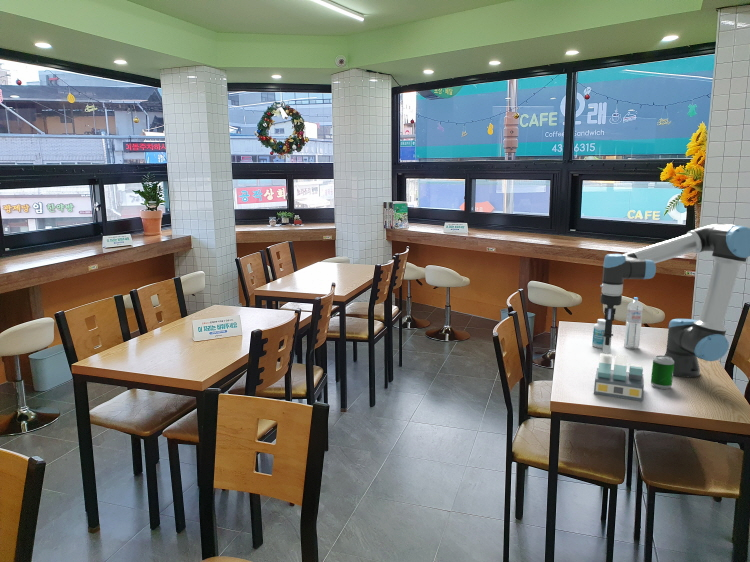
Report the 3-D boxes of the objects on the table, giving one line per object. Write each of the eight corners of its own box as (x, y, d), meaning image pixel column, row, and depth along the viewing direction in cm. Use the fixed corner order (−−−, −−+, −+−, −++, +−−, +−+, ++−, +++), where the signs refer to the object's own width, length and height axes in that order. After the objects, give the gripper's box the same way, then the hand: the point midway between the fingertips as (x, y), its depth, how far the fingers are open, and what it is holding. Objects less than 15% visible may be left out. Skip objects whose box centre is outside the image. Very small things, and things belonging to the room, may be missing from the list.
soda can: (670, 391, 223) (673, 361, 221) (649, 387, 227) (652, 358, 224) (672, 385, 229) (675, 356, 227) (651, 381, 233) (654, 353, 231)
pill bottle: (591, 347, 278) (593, 320, 276) (592, 343, 285) (594, 317, 282) (608, 349, 275) (610, 322, 273) (608, 345, 282) (610, 319, 280)
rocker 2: (626, 361, 225) (627, 356, 224) (625, 380, 216) (626, 376, 214) (614, 359, 227) (615, 355, 226) (613, 379, 217) (613, 374, 216)
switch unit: (641, 388, 225) (643, 369, 224) (642, 401, 212) (644, 381, 211) (595, 382, 232) (597, 363, 231) (593, 394, 219) (595, 374, 218)
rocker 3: (641, 371, 223) (642, 365, 223) (642, 375, 212) (642, 369, 212) (629, 370, 225) (629, 364, 225) (629, 374, 214) (630, 367, 214)
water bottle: (640, 346, 280) (644, 297, 275) (637, 350, 274) (642, 299, 270) (625, 344, 284) (629, 295, 279) (622, 348, 278) (627, 298, 273)
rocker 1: (611, 359, 227) (612, 354, 226) (609, 378, 218) (610, 373, 217) (600, 357, 229) (600, 353, 228) (597, 377, 220) (597, 372, 218)
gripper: (602, 290, 229) (597, 346, 233) (600, 296, 217) (595, 355, 222) (622, 291, 226) (617, 348, 230) (621, 298, 214) (616, 358, 219)
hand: (606, 352), depth 226 cm, fingers closed
